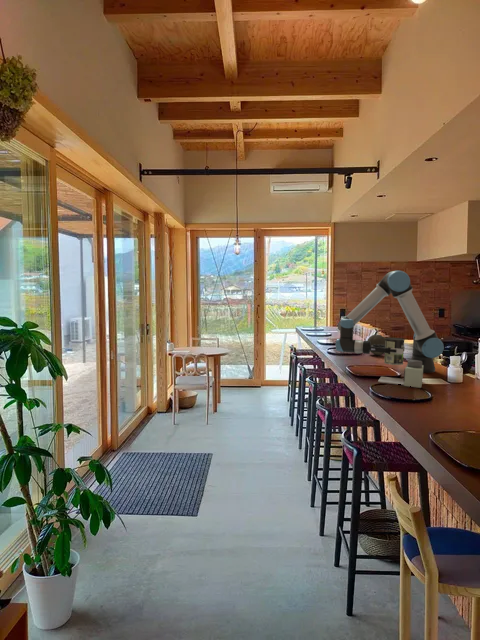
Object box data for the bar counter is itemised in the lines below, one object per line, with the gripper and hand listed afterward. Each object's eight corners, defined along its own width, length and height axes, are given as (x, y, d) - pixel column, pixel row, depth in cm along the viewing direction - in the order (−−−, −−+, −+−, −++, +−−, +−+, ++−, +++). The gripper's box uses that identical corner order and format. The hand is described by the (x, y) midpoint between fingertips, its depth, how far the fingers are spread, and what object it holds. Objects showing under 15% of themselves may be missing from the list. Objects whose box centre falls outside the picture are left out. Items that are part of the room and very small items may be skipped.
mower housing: (377, 382, 233) (379, 359, 232) (381, 377, 247) (382, 355, 246) (421, 387, 224) (422, 364, 223) (422, 381, 239) (423, 359, 238)
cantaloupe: (386, 354, 330) (387, 334, 329) (386, 357, 317) (387, 336, 316) (366, 353, 335) (367, 333, 333) (365, 355, 321) (367, 335, 320)
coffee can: (403, 362, 256) (404, 338, 254) (402, 365, 246) (404, 340, 245) (384, 361, 259) (385, 337, 258) (383, 364, 250) (384, 339, 249)
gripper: (365, 350, 270) (404, 354, 261) (359, 356, 249) (401, 359, 240) (366, 338, 269) (405, 341, 260) (360, 342, 248) (402, 345, 239)
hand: (403, 350), depth 250 cm, fingers closed on coffee can, 10 cm apart
